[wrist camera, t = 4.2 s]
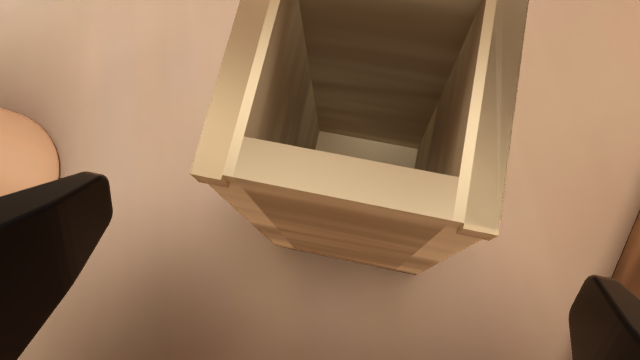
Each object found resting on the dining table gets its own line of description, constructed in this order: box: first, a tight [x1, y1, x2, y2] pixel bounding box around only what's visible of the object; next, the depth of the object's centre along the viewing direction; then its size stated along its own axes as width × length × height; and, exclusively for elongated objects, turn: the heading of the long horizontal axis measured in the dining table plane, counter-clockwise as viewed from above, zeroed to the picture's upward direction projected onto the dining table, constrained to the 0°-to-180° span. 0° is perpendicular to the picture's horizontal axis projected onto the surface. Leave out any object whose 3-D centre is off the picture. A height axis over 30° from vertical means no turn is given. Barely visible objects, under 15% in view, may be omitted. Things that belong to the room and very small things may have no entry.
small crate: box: [190, 0, 529, 275], centre depth 15 cm, size 6×6×11 cm
